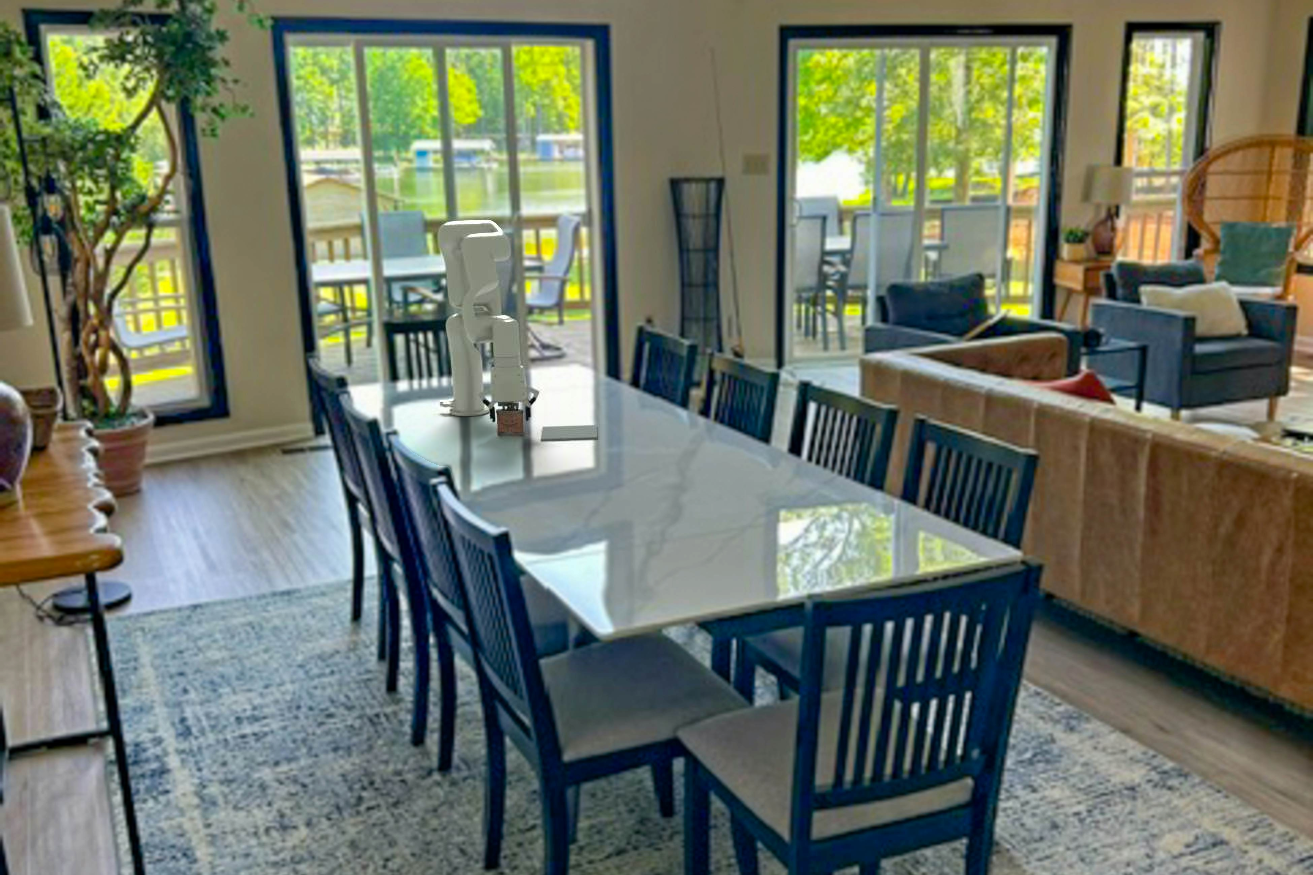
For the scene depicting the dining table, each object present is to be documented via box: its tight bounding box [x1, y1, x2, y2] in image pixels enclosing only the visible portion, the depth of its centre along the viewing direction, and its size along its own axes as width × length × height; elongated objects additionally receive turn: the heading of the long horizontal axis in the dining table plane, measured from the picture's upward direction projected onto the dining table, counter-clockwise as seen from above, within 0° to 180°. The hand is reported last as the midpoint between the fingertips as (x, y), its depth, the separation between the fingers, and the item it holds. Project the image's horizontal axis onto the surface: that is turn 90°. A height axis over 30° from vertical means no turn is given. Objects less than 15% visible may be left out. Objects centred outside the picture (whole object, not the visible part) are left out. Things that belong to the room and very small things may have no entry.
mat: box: [540, 424, 598, 442], centre depth 329 cm, size 16×15×1 cm
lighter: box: [495, 402, 525, 437], centre depth 327 cm, size 8×3×10 cm, turn 84°
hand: (510, 420), depth 327 cm, fingers open, 9 cm apart
